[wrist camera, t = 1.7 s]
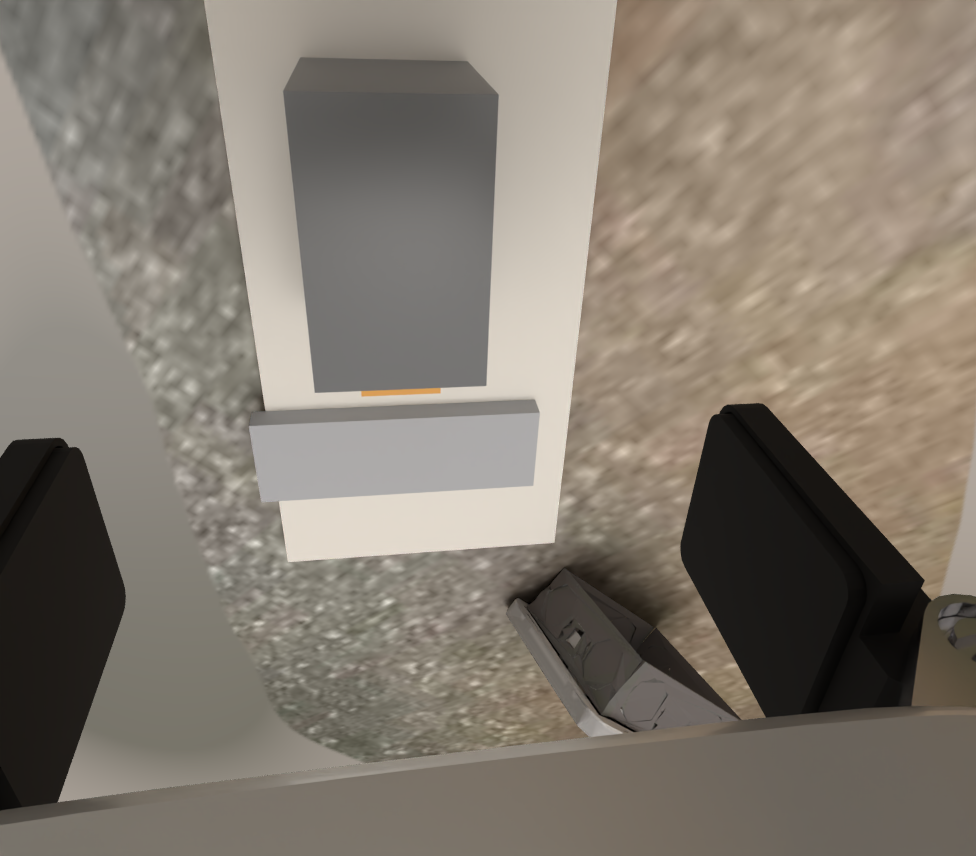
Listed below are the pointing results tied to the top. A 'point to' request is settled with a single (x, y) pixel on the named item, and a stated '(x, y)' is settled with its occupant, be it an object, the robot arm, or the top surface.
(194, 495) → the top surface
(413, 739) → the top surface
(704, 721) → the electrical switch
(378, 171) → the block
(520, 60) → the plate
